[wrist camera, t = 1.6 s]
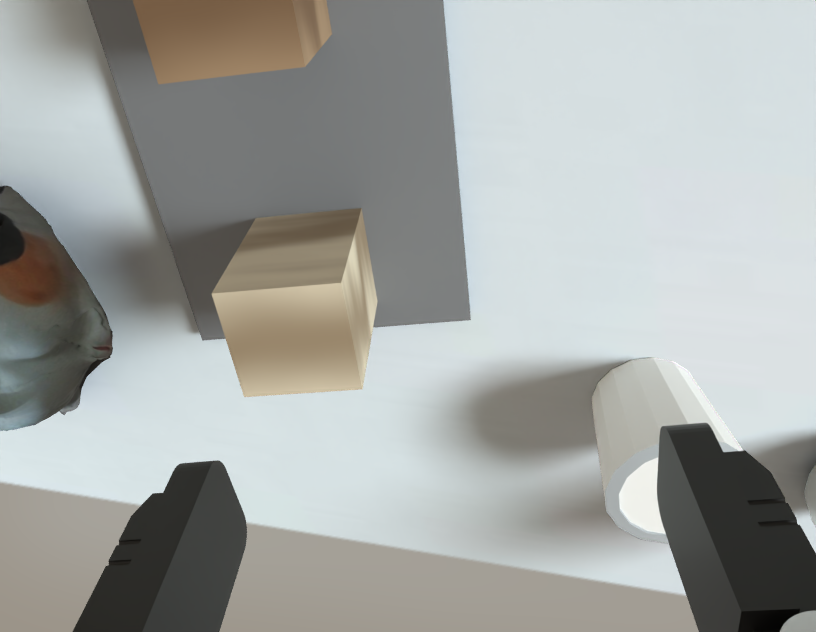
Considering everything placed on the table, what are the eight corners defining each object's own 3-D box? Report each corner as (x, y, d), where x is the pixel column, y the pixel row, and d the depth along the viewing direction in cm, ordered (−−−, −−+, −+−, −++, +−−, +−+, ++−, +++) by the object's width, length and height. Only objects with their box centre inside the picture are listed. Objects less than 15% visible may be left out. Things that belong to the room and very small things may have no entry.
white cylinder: (735, 373, 36) (792, 468, 30) (662, 460, 39) (701, 561, 33) (621, 330, 35) (657, 420, 29) (557, 423, 38) (577, 520, 32)
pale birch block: (255, 218, 31) (211, 293, 26) (361, 207, 31) (341, 282, 25) (279, 309, 34) (244, 397, 28) (377, 301, 34) (362, 389, 28)
